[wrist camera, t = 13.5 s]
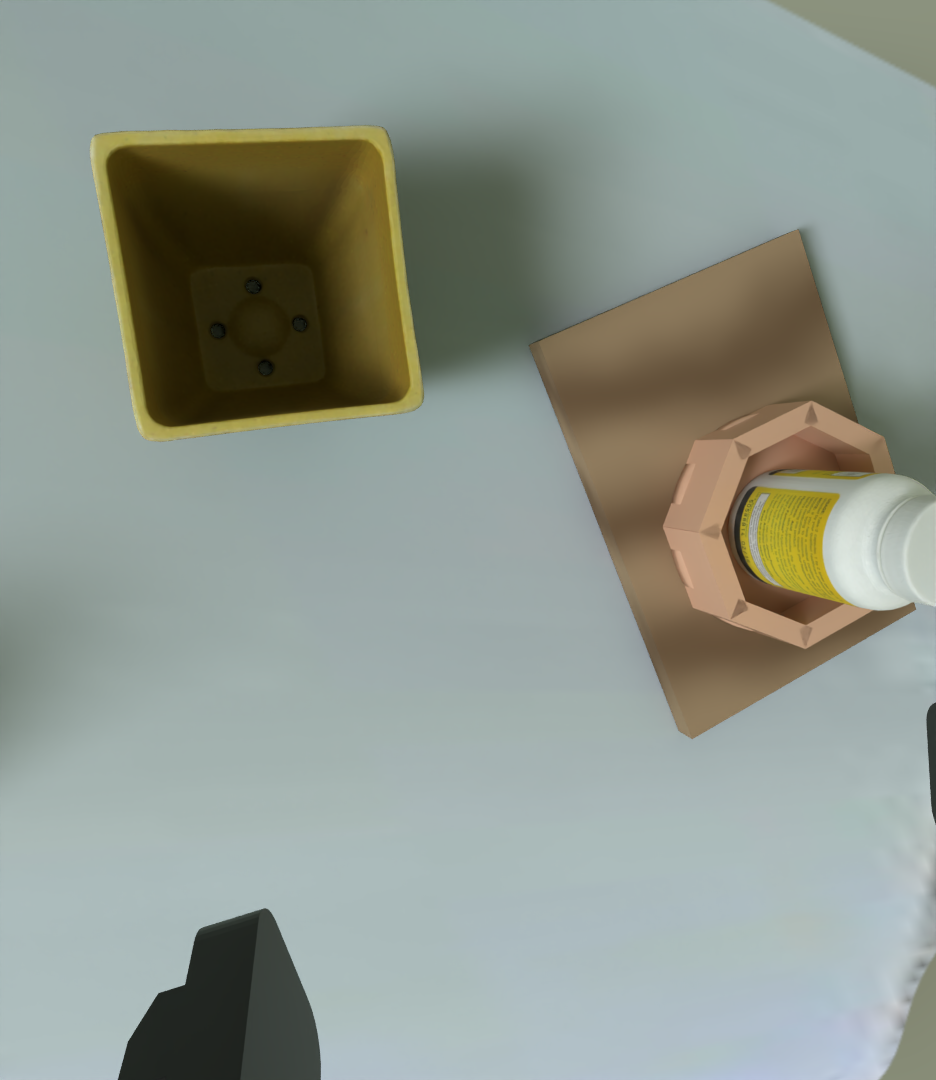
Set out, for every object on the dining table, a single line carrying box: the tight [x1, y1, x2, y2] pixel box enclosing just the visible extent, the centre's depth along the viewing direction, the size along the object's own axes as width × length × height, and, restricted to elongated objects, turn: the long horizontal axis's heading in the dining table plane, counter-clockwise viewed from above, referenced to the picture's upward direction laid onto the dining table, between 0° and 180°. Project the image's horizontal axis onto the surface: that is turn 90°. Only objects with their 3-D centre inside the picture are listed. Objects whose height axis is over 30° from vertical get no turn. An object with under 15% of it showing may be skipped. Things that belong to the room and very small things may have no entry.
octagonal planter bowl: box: [663, 401, 895, 649], centre depth 38 cm, size 10×10×3 cm
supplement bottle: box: [728, 469, 936, 611], centre depth 34 cm, size 5×5×10 cm
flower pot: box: [90, 125, 424, 442], centre depth 29 cm, size 9×9×9 cm
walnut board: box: [529, 229, 916, 739], centre depth 39 cm, size 20×14×1 cm
